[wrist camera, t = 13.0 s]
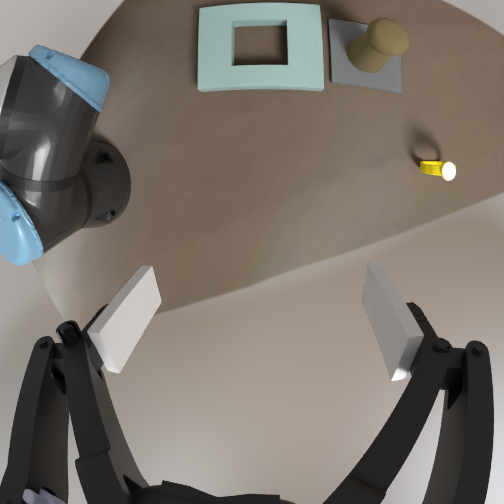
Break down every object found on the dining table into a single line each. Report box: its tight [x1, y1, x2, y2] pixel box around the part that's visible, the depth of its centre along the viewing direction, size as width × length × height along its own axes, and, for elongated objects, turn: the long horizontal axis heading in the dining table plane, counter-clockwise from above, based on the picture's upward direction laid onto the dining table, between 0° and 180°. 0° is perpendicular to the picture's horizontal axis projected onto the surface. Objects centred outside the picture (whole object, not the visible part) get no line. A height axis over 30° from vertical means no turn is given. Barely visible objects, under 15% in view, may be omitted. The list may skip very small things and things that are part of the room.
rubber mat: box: [328, 19, 402, 94], centre depth 29 cm, size 11×11×1 cm
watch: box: [420, 161, 456, 181], centre depth 32 cm, size 6×3×6 cm, turn 99°
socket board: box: [198, 3, 324, 92], centre depth 29 cm, size 17×14×2 cm
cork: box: [347, 18, 409, 73], centre depth 24 cm, size 6×6×11 cm
